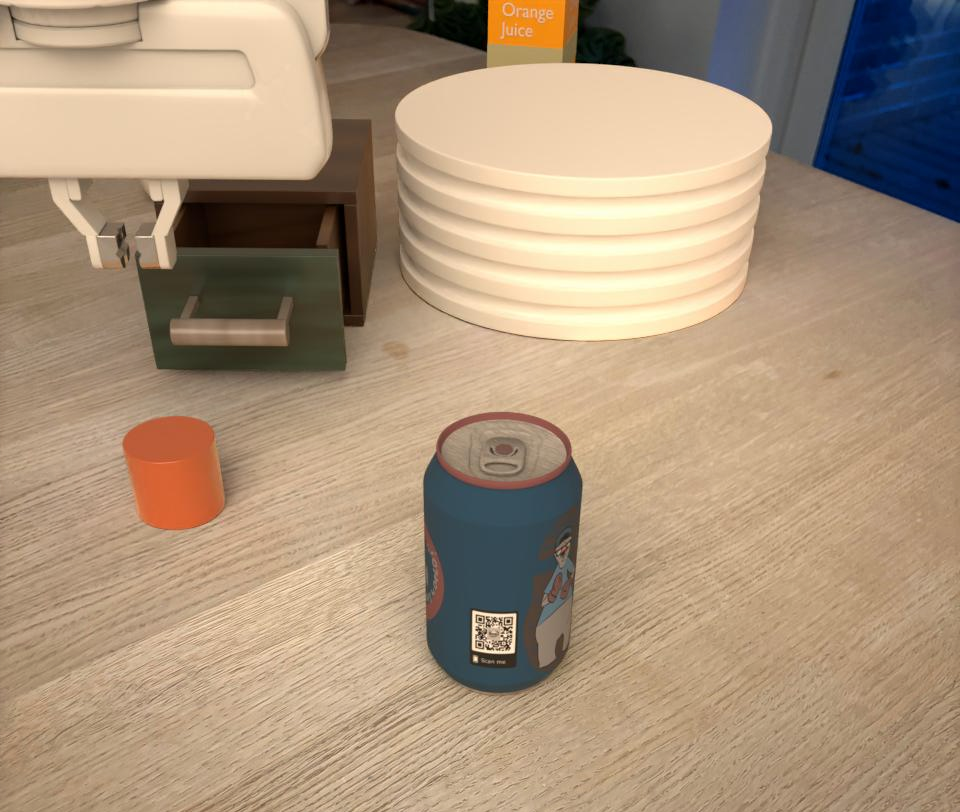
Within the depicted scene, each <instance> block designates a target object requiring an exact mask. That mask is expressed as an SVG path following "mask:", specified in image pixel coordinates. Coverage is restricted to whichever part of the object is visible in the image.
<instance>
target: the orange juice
mask: <svg viewBox="0 0 960 812" xmlns="http://www.w3.org/2000/svg"><path fill="white" fill-rule="evenodd" d="M487 2H488V4H487V7H488V8H487V9H488V11H487V14H488V15H487V17H488V18H487V44H486V46H487V47H486V49H487V50H486V68H492V67H501V66H510V65H522V64H541V63H576V56H577V44H578V24H579V23H578V22H579V7H580V6H579V4H580V0H488V1H487Z"/></svg>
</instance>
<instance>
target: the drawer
mask: <svg viewBox="0 0 960 812" xmlns="http://www.w3.org/2000/svg"><path fill="white" fill-rule="evenodd" d="M173 232H174V238H175V244H176V250H177V259H176V263H175V265H174V267H173V269H142V268H141V266H140V262H139V258H140V256H141V254H140V253H139V251H138V250H137V249H136V251H135V253H134V259H135V266H136V271H137V275H138V279H139V285H140V291H141V296H142V301H143V306H144V310H145V316H146V321H147V322H146V323H147V327H148V331H149V332H148V333H149V336H150V337H149V338H150V341H151V347H152V352H153V357H154V363H155V367H156V370H163V371H165V370H170V371H173V370H177V371H178V370H179V371H180V370H181V371H182V370H183V371H184V370H185V371H188V370H189V371H194V370H195V371H301V372H302V371H305V372H306V371H307V372H309V371H313V372H316V371H317V372H318V371H319V372H320V371H321V372H345V371H346V367H347V363H348V362H347V349H346V348H347V347H346V336H345V326H344V320H343V310H344V305H345V300H346V295H347V289H348V284H349V276H348V261H347V246H346V231H345V217H344V204H266V203H182V205H181V207H180V210H179V212H178V215H177V217H176V220H175V222H174V224H173Z"/></svg>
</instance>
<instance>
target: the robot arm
mask: <svg viewBox="0 0 960 812" xmlns="http://www.w3.org/2000/svg"><path fill="white" fill-rule="evenodd" d="M330 21H331V20H330V7H329V0H0V178H1V179H8V178H9V179H47V181H48V186H49V190H50V194H51V199H52V202H53V203H54V204H55V205H56V206H57V208H58V209H59V210H60V211H61V212H62V213H63V214H64V216H65V217H66V218H67V219H68V220H69V222H70V223H71V224H72V226H74V227H75V229H76V230H77V231H78V233H80V235H81V236H84V237H85V240H86V246H87V250H88V254H89V258H90V262H91V266H92V268H93V269H94V270H109V269H110V270H111V269H112V270H115V269H116V270H117V269H126V267H127V264H128V263H129V261H130V257H131V254H130V252H131V251H130V245H129V243H128V242H127V241H126V238H127V235H128V234H127V231H126V225H125V222H118V221H115V222H114V221H108V220H107V218H106V216H104V214H103V213H102V212H101V210H100V209H99V208H98V206H97V205H96V204H95V202H94V201H93V199H92V198H91V196H90V195H89V194H88V193H87V192H88V191H89V189H90V188H91V186H92V185H93V184H94V179H103V180H104V179H105V180H106V179H110V180H111V179H112V180H113V179H114V180H115V179H116V180H117V179H119V180H122V179H123V180H125V179H126V180H130V179H131V180H140V179H147V180H148V185H149V191H150V196H151V197H150V196H149V197H150V200H152V201H153V202H154V201H162V200H163V199H164V204H163V206H162V209H161V212H160V214H159V217H158V219H157V218H156V221H155V222H142V223H141V224H140V226H139V230H137V231H136V232H135V235H134V241H135V246H136V247H135V248H136V251H137V250H138V251H139V253H140V254H141V256H140V258H139V262H140V266H141V268H142V269H173V267H174V265H175V263H176V259H177V250H176V244H175V238H174V232H173V224H174V222H175V220H176V217H177V215H178V212H179V210H180V207H181V205H182V202H183V200H184V198H185V195H186V193H187V190H188V188H189V182H188V179H229V180H310V179H313V178H314V177H316V175H317V174H318V173H319V172H320V171H321V169H322V168H323V167H324V165H325V164H326V162H327V161H328V159H329V157H330V154H331V150H332V144H333V132H332V121H331V119H332V115H331V114H332V113H331V106H330V105H331V104H330V101H329V99H330V98H329V93H328V87H327V83H326V76H325V73H324V72H325V71H324V67H323V62H322V58H321V56H322V55H323V53H324V52H325V50H326V49H327V46H328V43H329V40H330V37H331V35H330V34H331V22H330Z"/></svg>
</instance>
